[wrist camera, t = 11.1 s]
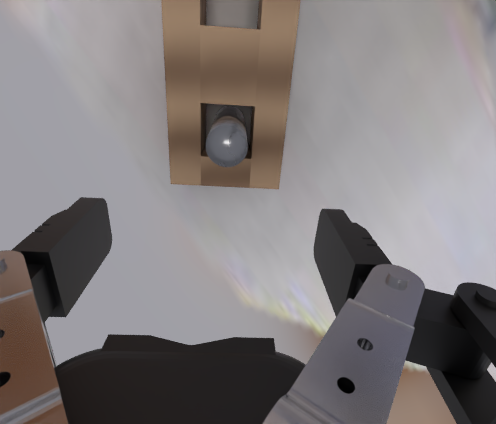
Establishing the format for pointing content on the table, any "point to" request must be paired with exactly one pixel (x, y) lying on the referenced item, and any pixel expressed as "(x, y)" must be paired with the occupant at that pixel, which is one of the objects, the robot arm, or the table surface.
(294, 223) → the table surface
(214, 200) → the table surface
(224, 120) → the peg
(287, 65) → the hole block
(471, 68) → the table surface
